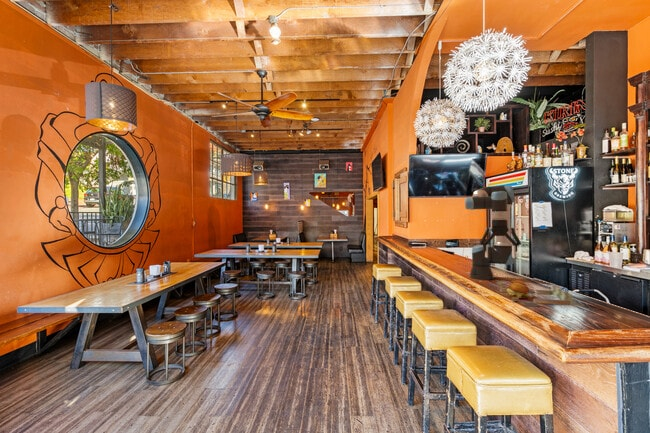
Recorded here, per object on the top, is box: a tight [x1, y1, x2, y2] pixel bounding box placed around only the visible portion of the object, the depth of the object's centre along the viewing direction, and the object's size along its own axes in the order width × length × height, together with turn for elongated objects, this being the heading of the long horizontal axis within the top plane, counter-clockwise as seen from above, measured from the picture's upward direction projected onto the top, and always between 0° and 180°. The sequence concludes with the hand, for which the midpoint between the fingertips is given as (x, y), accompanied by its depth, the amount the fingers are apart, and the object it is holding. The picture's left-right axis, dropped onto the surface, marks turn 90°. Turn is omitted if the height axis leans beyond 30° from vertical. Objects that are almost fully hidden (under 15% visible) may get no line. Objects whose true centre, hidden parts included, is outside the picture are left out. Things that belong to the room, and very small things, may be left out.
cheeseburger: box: [506, 279, 530, 300], centre depth 166 cm, size 10×11×10 cm
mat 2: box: [522, 301, 540, 308], centre depth 152 cm, size 6×7×1 cm
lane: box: [500, 284, 573, 306], centre depth 164 cm, size 21×26×5 cm
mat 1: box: [528, 289, 536, 294], centre depth 177 cm, size 6×7×1 cm
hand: (500, 257), depth 168 cm, fingers open, 13 cm apart
